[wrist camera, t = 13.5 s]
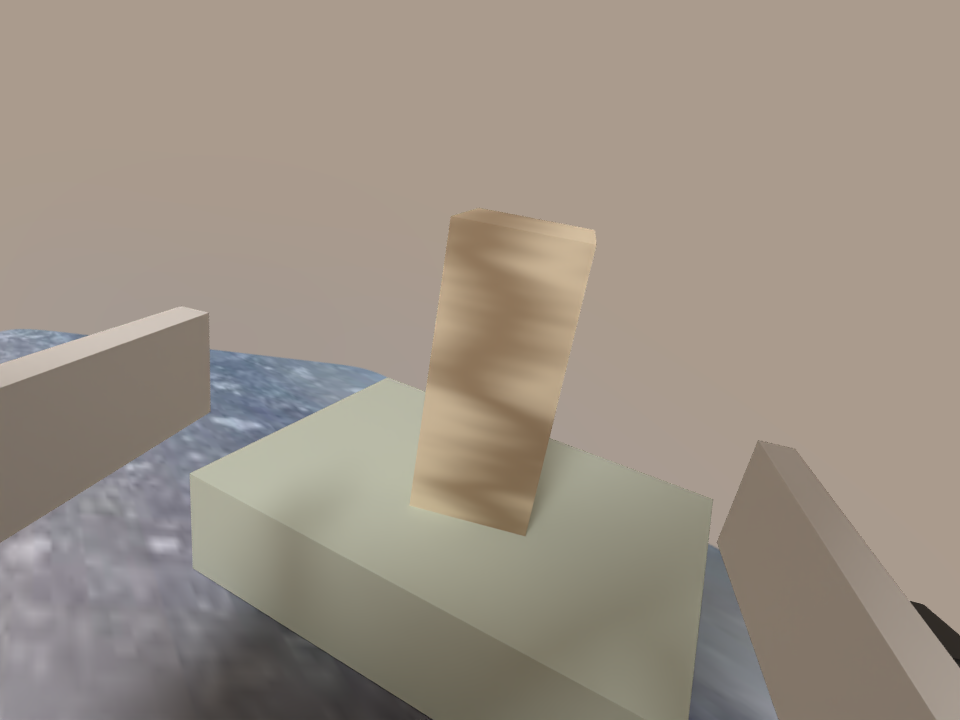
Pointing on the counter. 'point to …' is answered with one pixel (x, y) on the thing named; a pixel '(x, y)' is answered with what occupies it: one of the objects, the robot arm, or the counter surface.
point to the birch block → (498, 364)
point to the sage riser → (461, 570)
